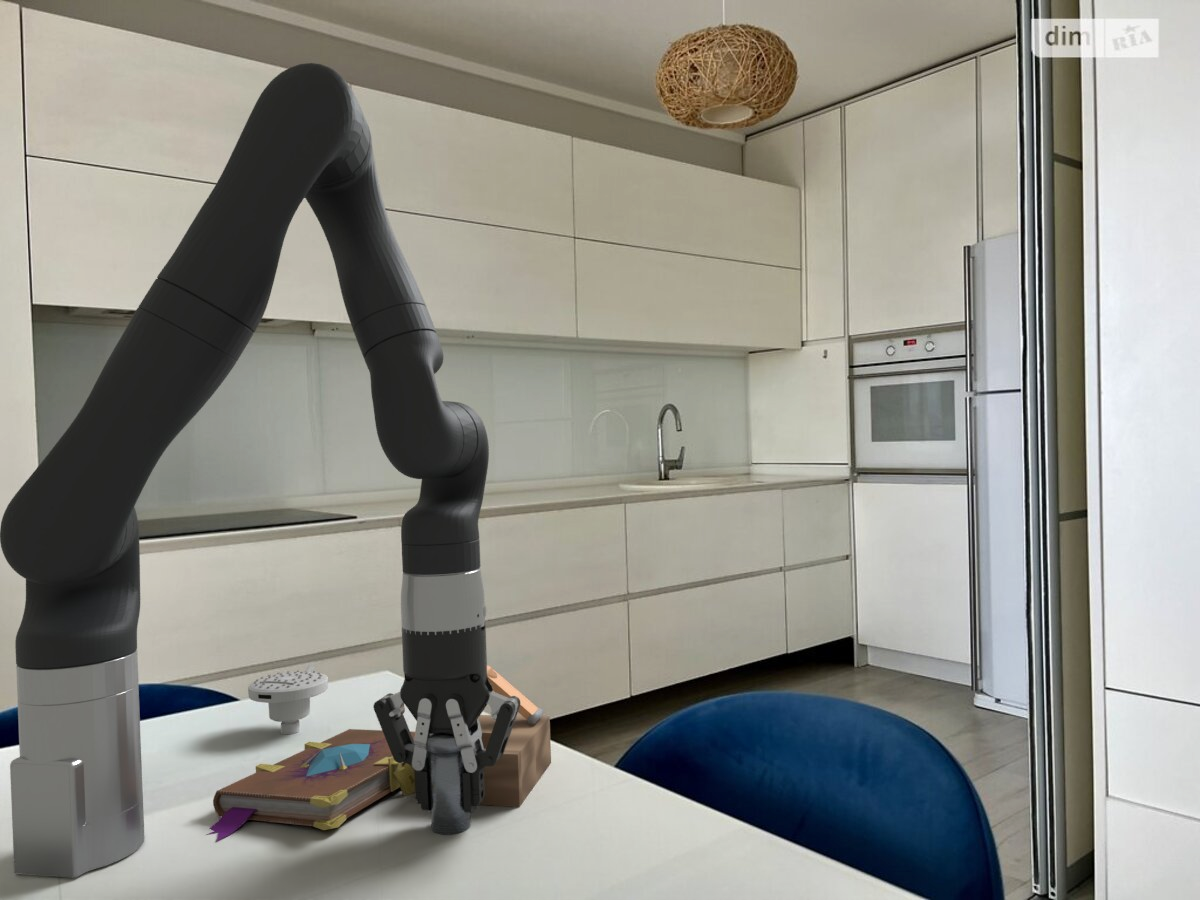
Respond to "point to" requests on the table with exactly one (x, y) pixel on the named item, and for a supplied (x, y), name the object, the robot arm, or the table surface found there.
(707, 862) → the table surface
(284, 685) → the showerhead
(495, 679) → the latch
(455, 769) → the pin
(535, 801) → the table surface
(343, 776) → the book
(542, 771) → the block
